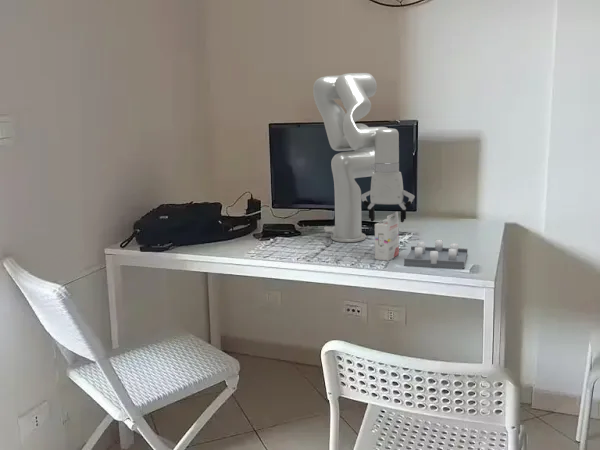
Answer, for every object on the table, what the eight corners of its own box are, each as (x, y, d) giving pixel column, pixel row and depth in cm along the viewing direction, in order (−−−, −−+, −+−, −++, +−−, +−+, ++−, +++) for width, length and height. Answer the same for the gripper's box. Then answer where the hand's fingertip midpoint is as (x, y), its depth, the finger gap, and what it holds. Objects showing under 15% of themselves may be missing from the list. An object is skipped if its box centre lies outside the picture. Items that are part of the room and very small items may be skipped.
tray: (404, 266, 204) (404, 251, 203) (411, 252, 220) (411, 238, 219) (463, 269, 199) (464, 254, 198) (467, 254, 214) (467, 240, 213)
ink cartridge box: (385, 253, 220) (385, 209, 217) (399, 254, 217) (399, 210, 214) (374, 259, 213) (373, 214, 210) (388, 261, 210) (388, 215, 207)
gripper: (357, 169, 208) (358, 222, 211) (412, 169, 202) (412, 224, 206) (362, 166, 215) (363, 218, 218) (416, 166, 209) (416, 219, 213)
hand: (387, 221), depth 212 cm, fingers open, 9 cm apart
